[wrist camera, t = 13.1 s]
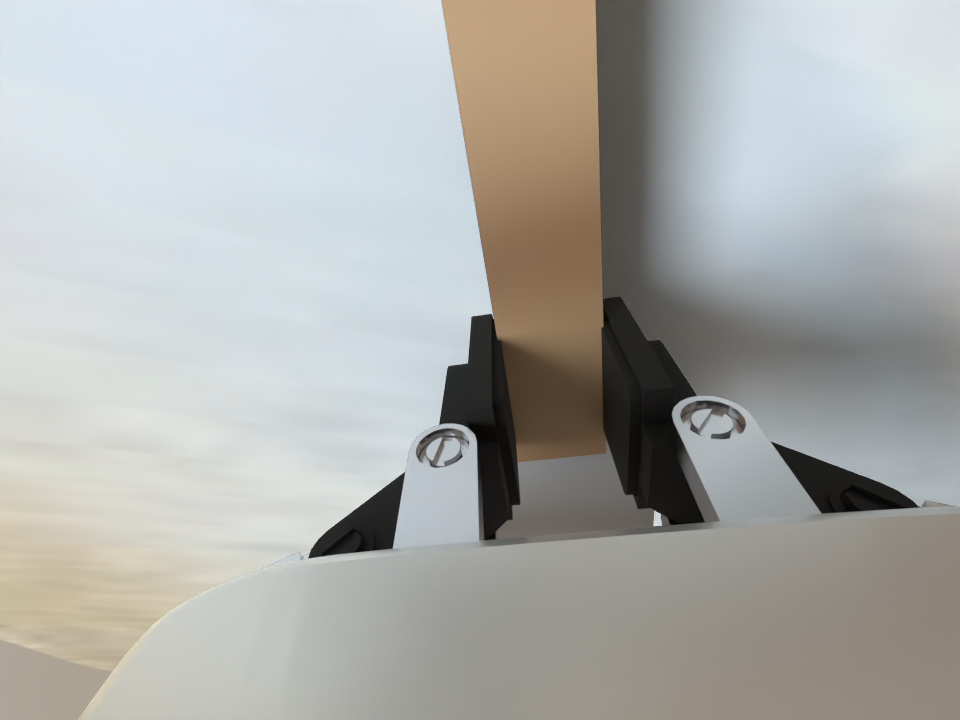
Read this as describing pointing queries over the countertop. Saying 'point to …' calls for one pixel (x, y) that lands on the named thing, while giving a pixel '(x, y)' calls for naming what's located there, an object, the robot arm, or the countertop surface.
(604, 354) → the robot arm
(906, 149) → the countertop surface
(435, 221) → the countertop surface
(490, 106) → the turner
